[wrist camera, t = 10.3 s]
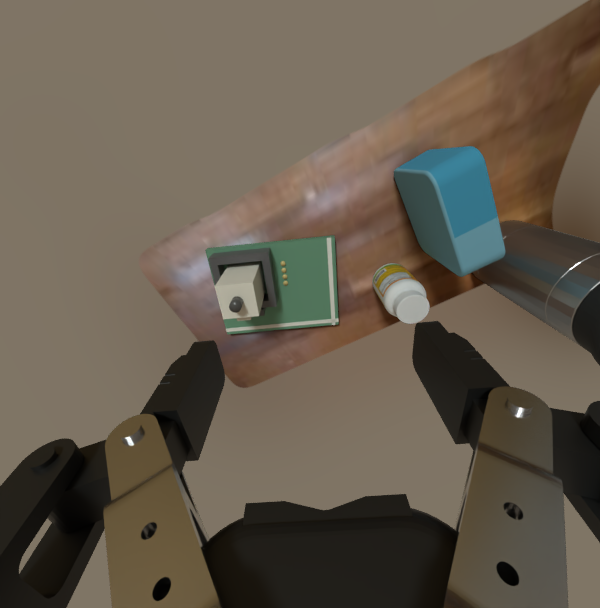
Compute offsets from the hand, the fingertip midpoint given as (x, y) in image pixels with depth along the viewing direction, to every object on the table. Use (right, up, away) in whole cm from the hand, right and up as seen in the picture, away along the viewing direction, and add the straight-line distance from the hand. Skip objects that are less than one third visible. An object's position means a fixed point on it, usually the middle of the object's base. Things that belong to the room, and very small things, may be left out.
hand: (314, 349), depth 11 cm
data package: (+16, +15, +26) cm, 34 cm away
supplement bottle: (+13, +6, +31) cm, 34 cm away
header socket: (-7, +5, +30) cm, 31 cm away
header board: (-4, +4, +31) cm, 32 cm away
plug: (-8, +6, +29) cm, 31 cm away
